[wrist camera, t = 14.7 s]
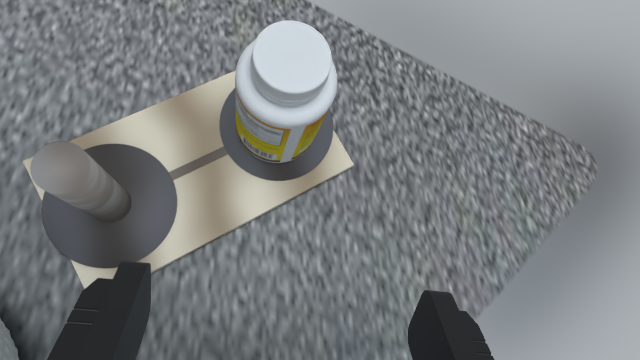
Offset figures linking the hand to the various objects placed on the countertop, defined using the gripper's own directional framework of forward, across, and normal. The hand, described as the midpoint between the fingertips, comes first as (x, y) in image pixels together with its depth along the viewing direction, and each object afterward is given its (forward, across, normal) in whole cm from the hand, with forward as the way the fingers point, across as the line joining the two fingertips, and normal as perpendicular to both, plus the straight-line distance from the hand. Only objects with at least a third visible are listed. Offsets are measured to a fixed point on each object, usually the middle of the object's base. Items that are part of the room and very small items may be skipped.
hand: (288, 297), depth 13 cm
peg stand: (+18, +5, +7) cm, 20 cm away
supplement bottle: (+20, 0, +4) cm, 20 cm away
